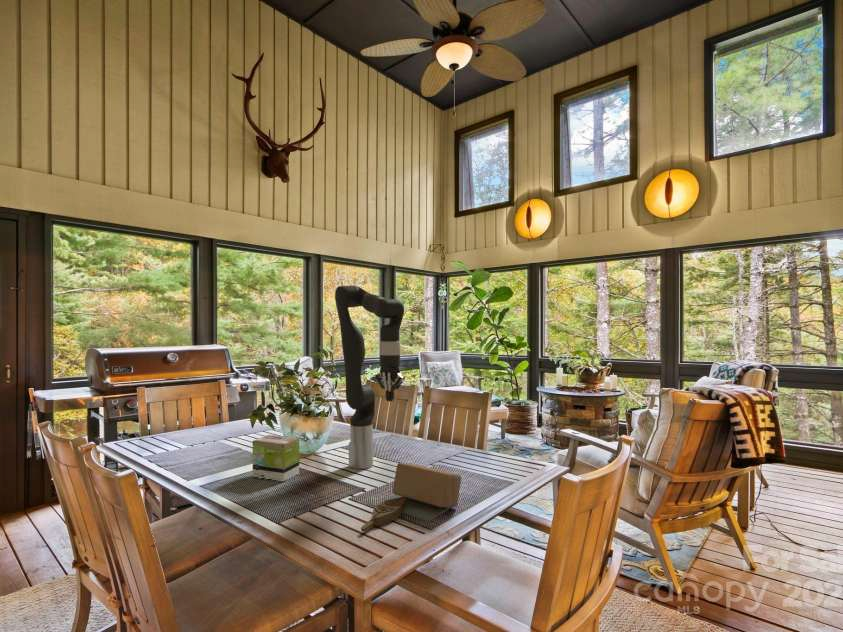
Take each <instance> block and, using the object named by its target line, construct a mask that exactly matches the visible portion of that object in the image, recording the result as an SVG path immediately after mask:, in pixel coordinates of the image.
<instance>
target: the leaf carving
mask: <svg viewBox="0 0 843 632" xmlns="http://www.w3.org/2000/svg"><path fill="white" fill-rule="evenodd" d="M388 499H389V500H388ZM388 499H387V500H386V499H385V500H384V501H381V502H379V503H378V504H377V505H375V507H374V509H373V510H372V515H371V519H370V520H369V521H367V522H365V524H364V525H362V526H361V527H360V531H361V532H367V530H369V529H370V528H372V527H378V526H382V525H384V524H387V523H390V522H392V521H395V520H397V519H398V518H399V517H400V516H401V515H402V514H403V511H404V508H405V497H404V498H403V497H398V498H393V499H390V498H388ZM383 502H384V503H383Z"/></svg>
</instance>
